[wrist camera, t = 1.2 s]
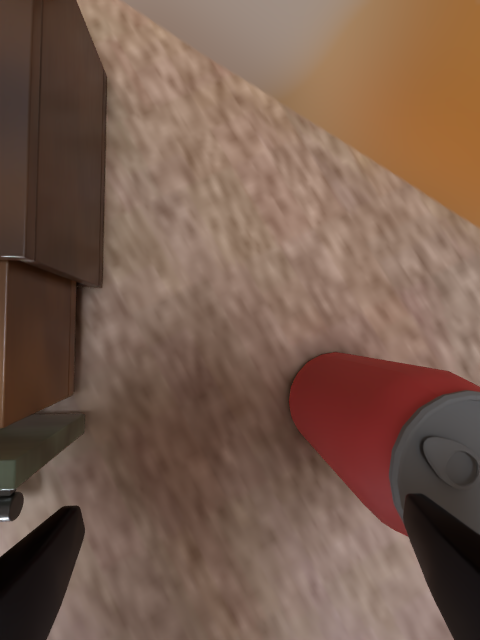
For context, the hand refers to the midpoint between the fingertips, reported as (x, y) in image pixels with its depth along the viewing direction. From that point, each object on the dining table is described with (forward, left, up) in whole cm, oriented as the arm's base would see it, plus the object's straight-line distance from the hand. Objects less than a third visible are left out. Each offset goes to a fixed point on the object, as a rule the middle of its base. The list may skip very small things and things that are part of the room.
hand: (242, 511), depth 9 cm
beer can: (+5, -6, -13) cm, 15 cm away
